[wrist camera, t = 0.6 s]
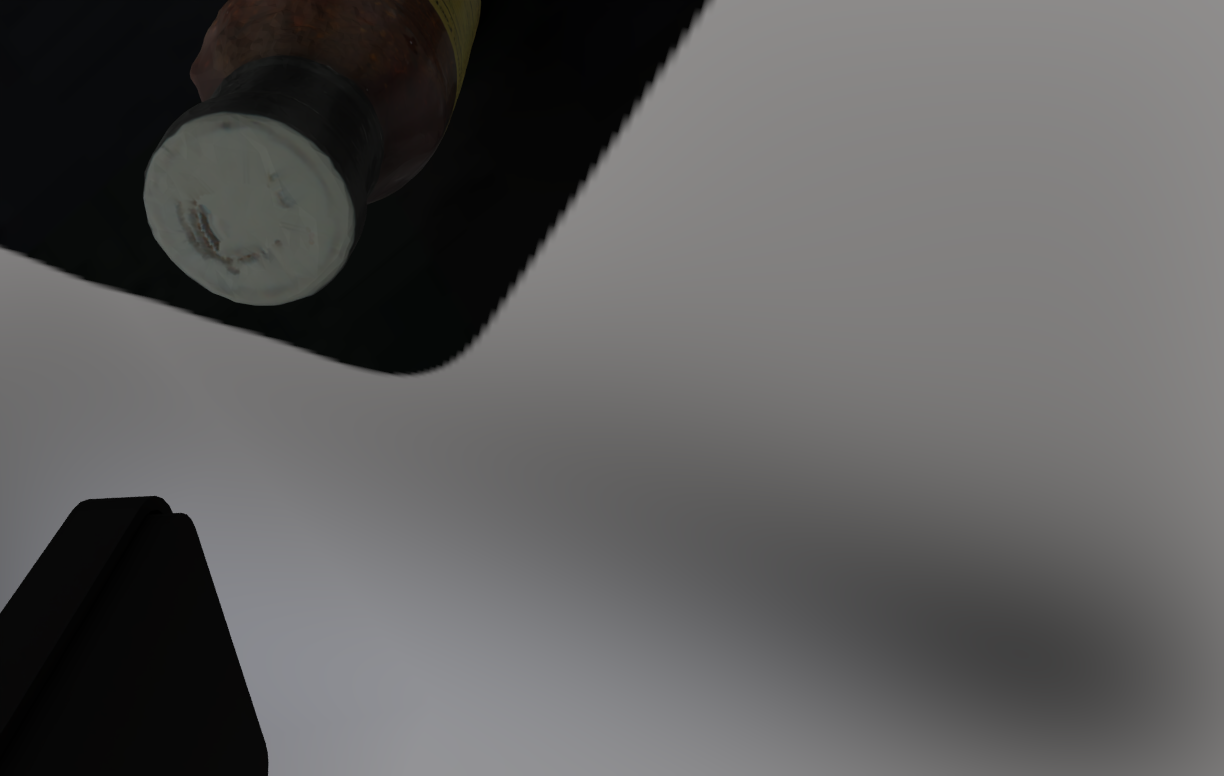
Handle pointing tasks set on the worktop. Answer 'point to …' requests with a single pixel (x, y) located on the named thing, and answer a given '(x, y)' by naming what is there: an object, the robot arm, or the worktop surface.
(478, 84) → the worktop surface
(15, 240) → the worktop surface
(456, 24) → the sauce bottle
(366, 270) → the worktop surface
